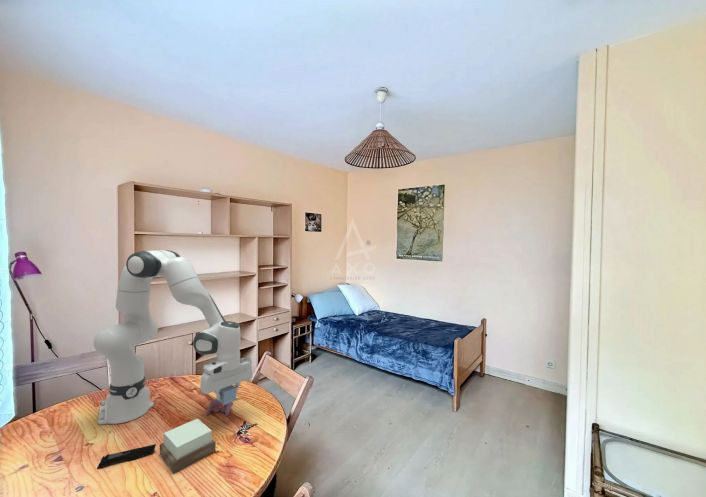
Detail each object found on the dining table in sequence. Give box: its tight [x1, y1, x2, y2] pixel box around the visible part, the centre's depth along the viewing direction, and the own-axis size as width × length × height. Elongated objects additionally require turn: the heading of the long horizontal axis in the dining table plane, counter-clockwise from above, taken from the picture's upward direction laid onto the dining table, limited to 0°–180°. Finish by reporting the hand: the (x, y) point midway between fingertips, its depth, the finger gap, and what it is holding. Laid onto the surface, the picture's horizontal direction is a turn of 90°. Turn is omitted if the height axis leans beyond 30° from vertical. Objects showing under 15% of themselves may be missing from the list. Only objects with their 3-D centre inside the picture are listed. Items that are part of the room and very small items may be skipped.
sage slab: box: [163, 418, 213, 460], centre depth 100 cm, size 11×11×4 cm
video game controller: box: [205, 397, 234, 417], centre depth 125 cm, size 10×5×7 cm, turn 85°
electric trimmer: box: [97, 443, 157, 470], centre depth 97 cm, size 4×16×3 cm, turn 116°
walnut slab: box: [159, 438, 216, 474], centre depth 100 cm, size 13×13×4 cm
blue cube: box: [218, 384, 237, 406], centre depth 118 cm, size 5×5×5 cm
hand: (227, 396), depth 118 cm, fingers closed on blue cube, 5 cm apart
